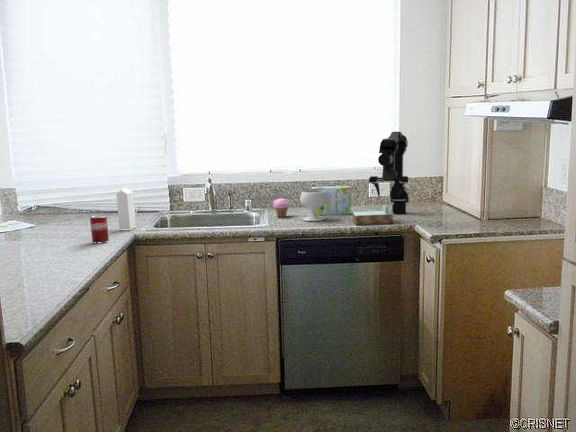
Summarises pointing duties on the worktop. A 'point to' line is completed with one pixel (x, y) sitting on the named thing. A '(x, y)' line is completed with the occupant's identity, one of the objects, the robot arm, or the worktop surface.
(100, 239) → the soda can
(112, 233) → the worktop surface
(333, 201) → the snack box
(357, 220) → the walnut box
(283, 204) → the cupcake
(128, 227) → the milk
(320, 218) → the chalice
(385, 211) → the lid
